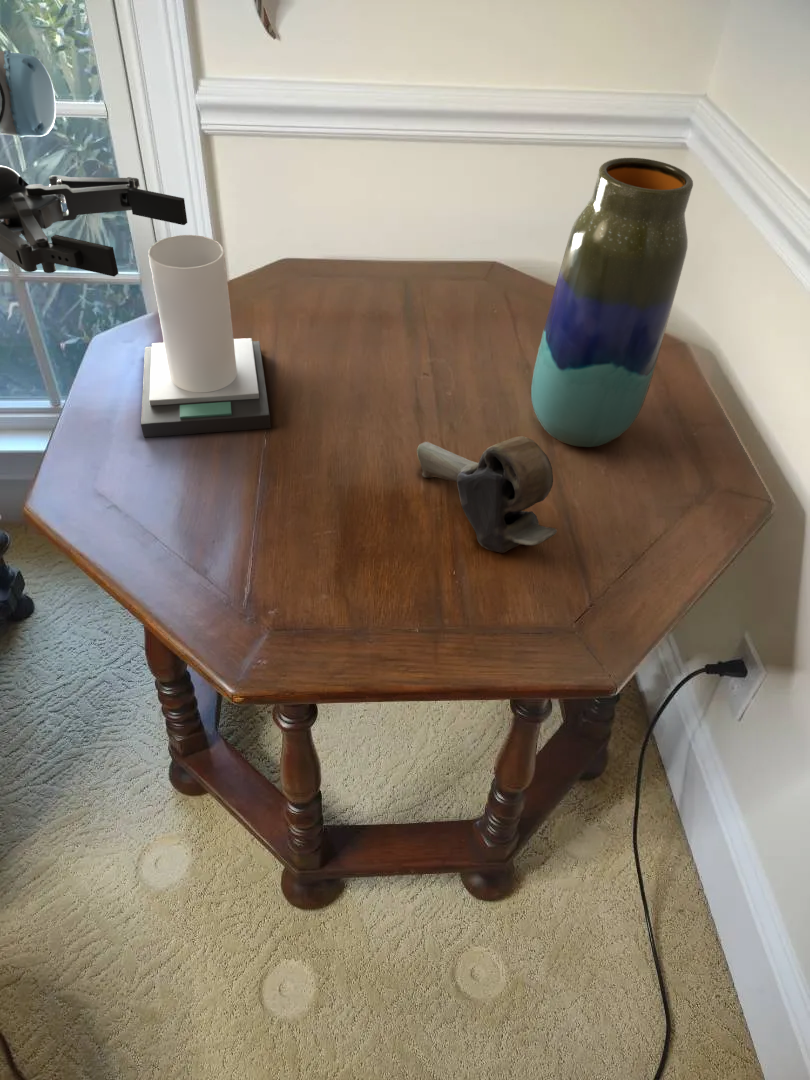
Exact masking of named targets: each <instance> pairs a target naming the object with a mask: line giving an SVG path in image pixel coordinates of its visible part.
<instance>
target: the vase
mask: <svg viewBox="0 0 810 1080" xmlns="http://www.w3.org/2000/svg"><path fill="white" fill-rule="evenodd" d="M693 188H694V180H693V178H692V177H691V176H690V175H689V174H688V173H687V172H686V171H685V170H684V169H681V168H679V167H677V166H675V165H673V164H669V163H666V162H663V161H661V160H660V161H659V160H655V159H649V158H644V157H643V158H641V157H619V158H613V159H610V160H607V161H605V162H603V163H602V164H601V165H600V167H599V168H598V172H597V177H596V179H595V184H594V188H593V191H592V196H591V197H590V199H589V201H588V202H587V204H585V206H584V208H583V209H582V210H581V211H580V213H579V215H578V216H577V217H576V219H575V220H574V222H573V225H572V226H571V229H570V233H569V236H568V240H567V243H566V247H565V250H564V254H563V257H562V261H561V265H560V269H559V273H558V276H557V279H556V283H555V286H554V290H553V294H552V298H551V302H550V305H549V309H548V312H547V315H546V319H545V324H544V327H543V331H542V335H541V339H540V342H539V345H538V350H537V353H536V358H535V361H534V365H533V370H532V376H531V383H530V400H531V406H532V409H533V412H534V414H535V416H536V419H537V420H538V422H539V424H540V426H541V427H542V428H543V429H544V431H545V432H546V433H547V434H548V435H549V436H550V437H552V438H554V439H555V440H557V441H559V442H561V443H563V444H566V445H569V446H573V447H578V448H595V447H601V446H603V445H605V444H609V443H610V442H612V441H613V440H614V441H615V440H616V439H617V438H619V437H620V436H621V435H623V434H624V433H625V432H626V431H627V430H629V428H631V426H632V425H633V424H634V422H635V421H636V420H637V418H638V417H639V414H640V412H641V410H642V408H643V406H644V403H645V401H646V398H647V395H648V392H649V390H650V386H651V382H652V379H653V376H654V373H655V371H656V370H655V369H656V365H657V363H658V359H659V355H660V352H661V348H662V344H663V341H664V337H665V333H666V331H667V326H668V323H669V319H670V315H671V312H672V308H673V304H674V302H675V297H676V294H677V289H678V286H679V283H680V280H681V276H682V271H683V268H684V265H685V260H686V257H687V252H688V242H689V241H688V239H689V238H688V231H687V224H686V211H687V207H688V205H689V200H690V197H691V194H692V190H693Z"/></svg>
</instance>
